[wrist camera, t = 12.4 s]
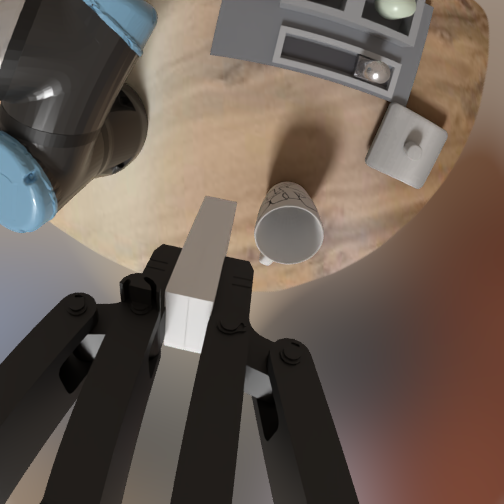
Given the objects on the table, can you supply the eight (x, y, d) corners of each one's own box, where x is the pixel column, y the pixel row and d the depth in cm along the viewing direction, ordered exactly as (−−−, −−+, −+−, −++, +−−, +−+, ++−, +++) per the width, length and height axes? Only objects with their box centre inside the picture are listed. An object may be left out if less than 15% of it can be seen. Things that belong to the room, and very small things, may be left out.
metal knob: (351, 75, 34) (364, 79, 29) (356, 55, 32) (370, 56, 27) (371, 82, 34) (387, 87, 29) (377, 63, 32) (394, 65, 27)
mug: (288, 247, 51) (289, 289, 43) (240, 225, 49) (232, 265, 41) (326, 190, 45) (337, 225, 37) (275, 163, 43) (274, 193, 35)
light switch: (386, 97, 36) (399, 103, 32) (441, 128, 37) (457, 137, 33) (359, 158, 42) (368, 171, 38) (414, 183, 43) (426, 197, 39)
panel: (212, 54, 35) (203, 54, 30) (237, -50, 26) (232, -63, 21) (401, 106, 36) (417, 113, 32) (428, 8, 27) (447, 4, 23)
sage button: (371, 12, 26) (382, 8, 23) (377, -12, 24) (388, -18, 21) (399, 24, 26) (412, 22, 23) (405, 0, 24) (418, -4, 21)
